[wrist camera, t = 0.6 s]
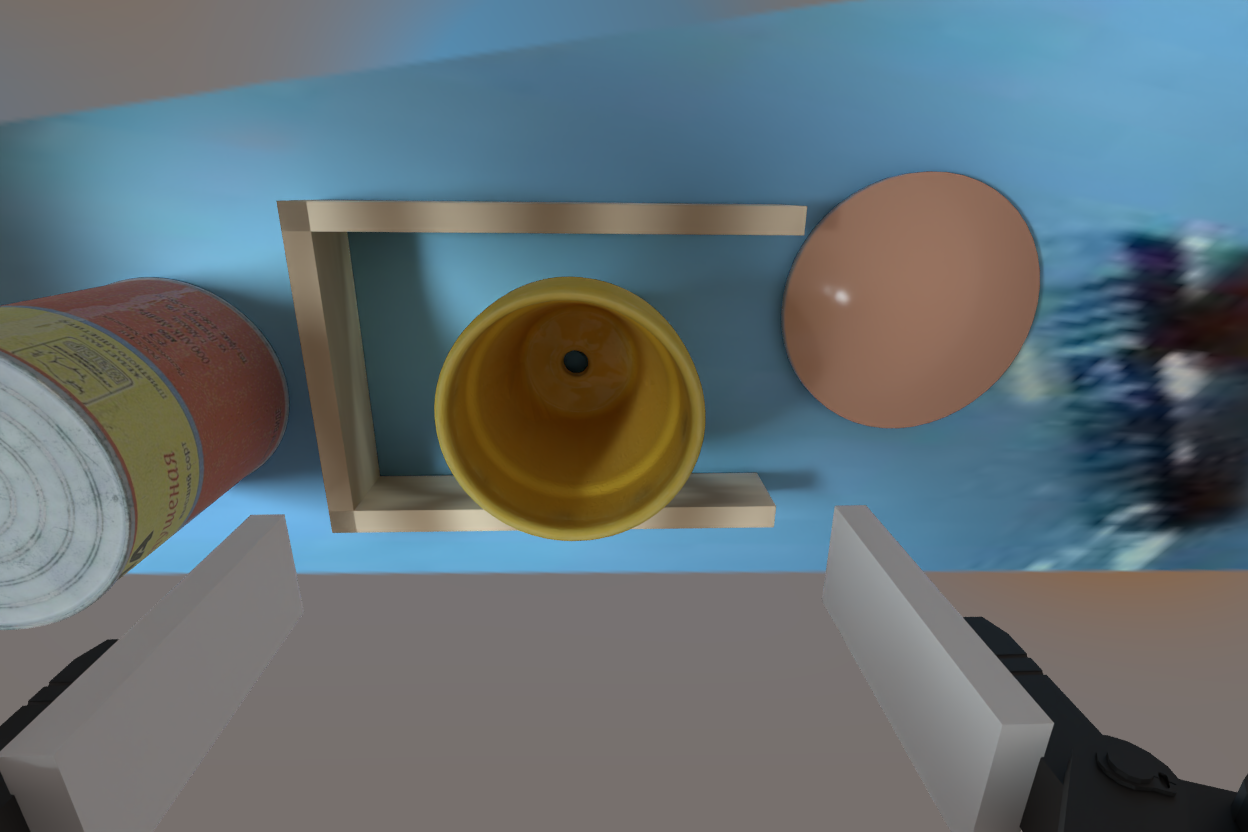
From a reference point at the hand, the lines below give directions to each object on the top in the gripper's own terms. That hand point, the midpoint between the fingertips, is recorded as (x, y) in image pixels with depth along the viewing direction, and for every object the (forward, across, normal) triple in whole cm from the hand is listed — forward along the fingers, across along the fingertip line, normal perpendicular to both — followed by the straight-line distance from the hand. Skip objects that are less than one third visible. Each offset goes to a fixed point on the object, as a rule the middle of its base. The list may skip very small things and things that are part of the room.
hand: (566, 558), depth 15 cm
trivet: (+19, +17, +3) cm, 25 cm away
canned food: (+19, -21, -1) cm, 28 cm away
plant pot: (+19, 0, 0) cm, 19 cm away
